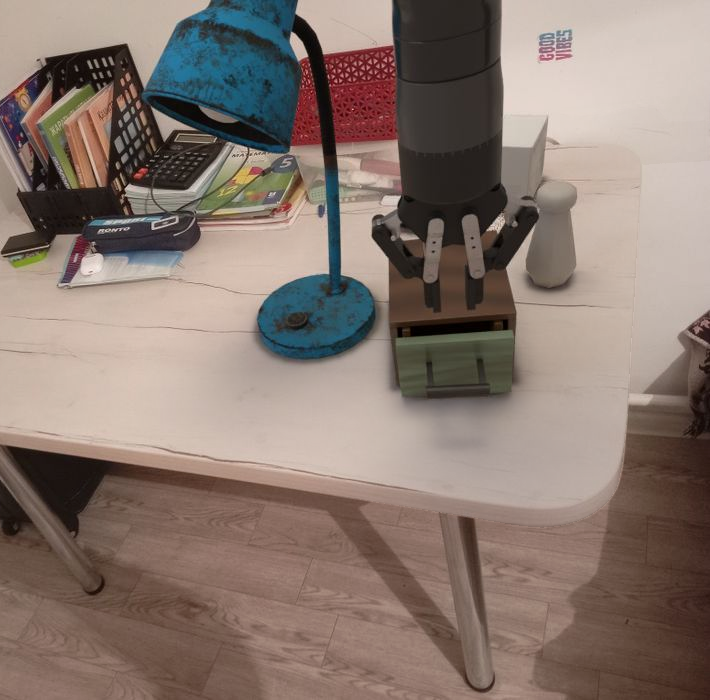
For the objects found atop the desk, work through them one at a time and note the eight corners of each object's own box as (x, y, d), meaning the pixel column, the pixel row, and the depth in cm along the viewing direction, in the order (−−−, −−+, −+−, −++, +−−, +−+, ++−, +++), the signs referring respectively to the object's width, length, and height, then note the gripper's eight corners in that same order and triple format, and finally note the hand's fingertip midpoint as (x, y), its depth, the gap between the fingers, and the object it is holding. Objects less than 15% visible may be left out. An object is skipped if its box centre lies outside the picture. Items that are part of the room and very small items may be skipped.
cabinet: (513, 379, 68) (516, 312, 62) (396, 385, 72) (388, 322, 66) (495, 293, 80) (496, 229, 73) (394, 302, 83) (388, 242, 77)
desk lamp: (210, 354, 84) (73, -9, 56) (315, 268, 93) (243, -82, 65) (295, 401, 74) (181, -17, 45) (404, 300, 83) (366, -102, 54)
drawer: (518, 427, 62) (522, 372, 58) (402, 430, 66) (396, 378, 61) (494, 307, 76) (495, 254, 71) (399, 314, 80) (394, 265, 75)
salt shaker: (578, 267, 79) (591, 175, 71) (569, 294, 76) (581, 201, 68) (529, 262, 82) (536, 173, 74) (518, 288, 79) (524, 198, 71)
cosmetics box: (528, 213, 91) (533, 146, 84) (483, 210, 94) (484, 145, 87) (545, 178, 97) (550, 112, 90) (501, 176, 100) (503, 113, 93)
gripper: (352, 162, 45) (376, 338, 56) (561, 131, 41) (543, 326, 52) (356, 121, 51) (377, 288, 62) (541, 89, 47) (528, 274, 58)
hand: (453, 305), depth 57 cm, fingers closed
